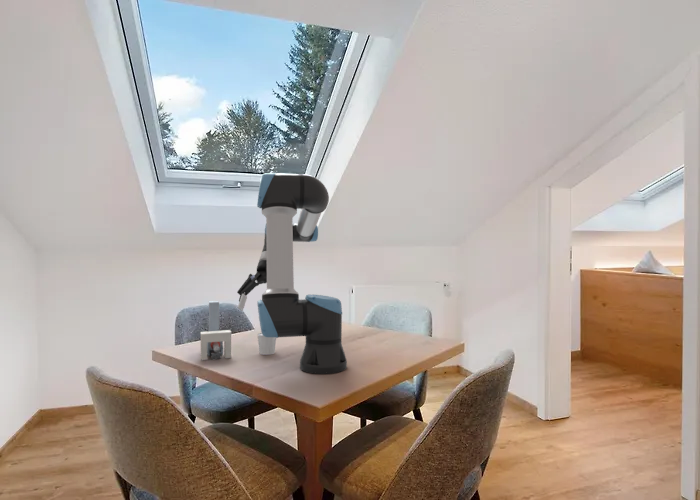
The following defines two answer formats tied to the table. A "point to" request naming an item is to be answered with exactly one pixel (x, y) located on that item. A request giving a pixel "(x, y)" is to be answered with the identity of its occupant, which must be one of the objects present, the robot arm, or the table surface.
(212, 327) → the carriage
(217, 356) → the rail
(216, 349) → the plunger
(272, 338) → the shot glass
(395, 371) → the table surface
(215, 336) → the arch
